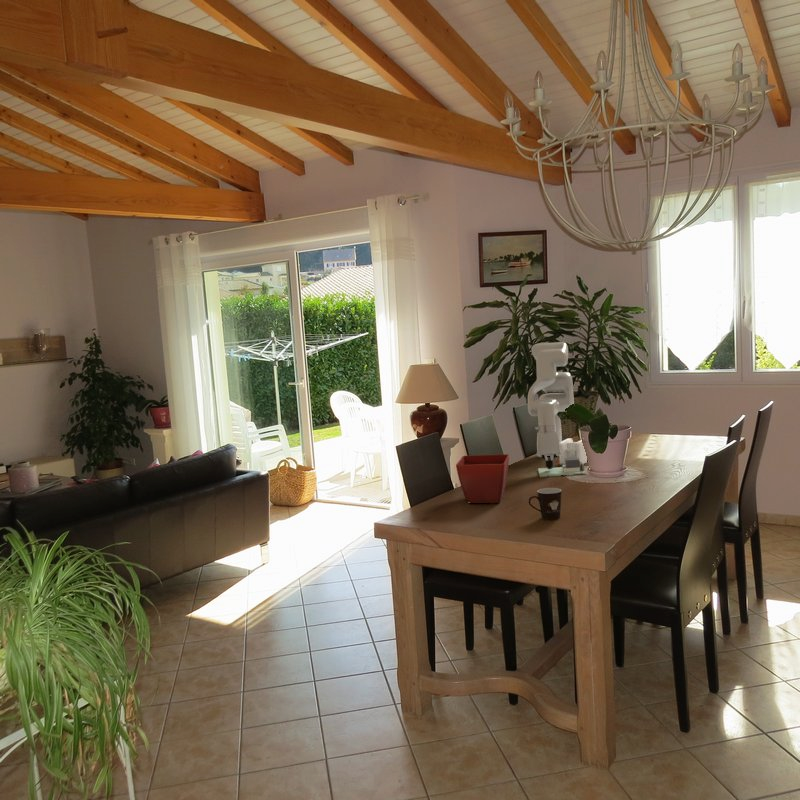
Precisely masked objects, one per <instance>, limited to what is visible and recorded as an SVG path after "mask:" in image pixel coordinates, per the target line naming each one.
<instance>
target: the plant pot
mask: <svg viewBox="0 0 800 800" xmlns="http://www.w3.org/2000/svg"><path fill="white" fill-rule="evenodd" d="M509 459H510V454H506V453H505V454H504V453H503V454H476V455H475V454H474V455H473V454H472V455H471V454H470V455H469V454H468V455H463V456H462V457H460V459H459V460H458V462H457V463H456V464H455V468H456V473H457V476H458V480H459V484H460V488H461V490H462V492H463V496H464V498H465V500H466V502H467V503H468V502H470V503H498V504H500V503H501V501H502V499H503V497H504V493H505V488H506V484H507V478H508V470H509V463H510V461H509ZM499 502H500V503H499Z"/></svg>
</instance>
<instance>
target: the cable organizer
mask: <svg viewBox="0 0 800 800" xmlns="http://www.w3.org/2000/svg"><path fill="white" fill-rule="evenodd" d="M560 453H561V455H559V456H558V458H559V459H558V461H559V465H561V466H562V465H565V459H570V458H579V460H580V461H582V462H583V463H584V464H587V463H588V462H587V456H586V452H585V449H584V446H583V443H582V439H581V440H578V441H574V440H573V438H571V437H570V438H569V437H568V438H566V439H563V440H562V442H560Z"/></svg>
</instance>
